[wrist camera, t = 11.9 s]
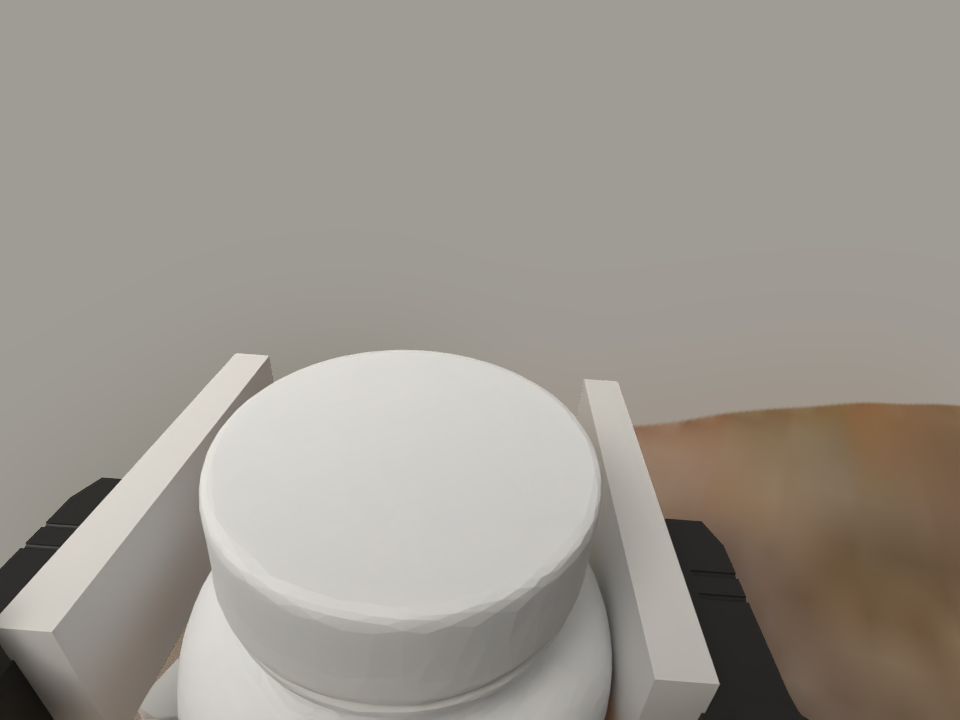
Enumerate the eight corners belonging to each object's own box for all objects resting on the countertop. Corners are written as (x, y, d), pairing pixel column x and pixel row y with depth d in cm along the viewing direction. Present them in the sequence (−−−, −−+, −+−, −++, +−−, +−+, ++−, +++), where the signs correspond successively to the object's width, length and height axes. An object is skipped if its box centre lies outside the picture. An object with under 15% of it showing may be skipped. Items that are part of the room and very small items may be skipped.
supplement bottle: (595, 867, 12) (795, 501, 6) (326, 1180, 8) (182, 1027, 2) (440, 640, 16) (470, 295, 10) (217, 785, 12) (68, 384, 7)
